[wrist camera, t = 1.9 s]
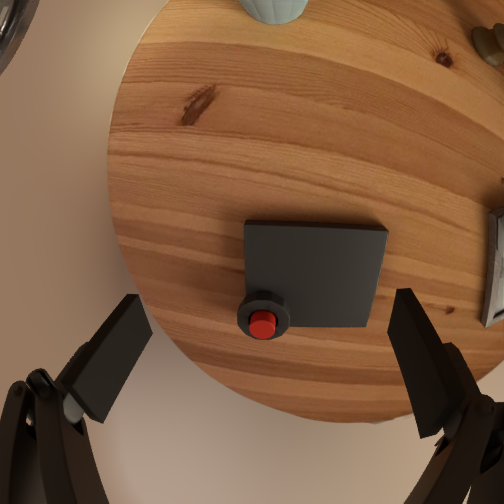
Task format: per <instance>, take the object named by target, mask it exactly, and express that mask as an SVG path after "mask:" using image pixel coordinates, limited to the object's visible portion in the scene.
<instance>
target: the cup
mask: <svg viewBox="0 0 504 504" xmlns="http://www.w3.org/2000/svg"><path fill="white" fill-rule="evenodd" d="M239 2H240V3H241V4H242V6H243V7H244V8H245V10H246V11H247V12H248V13H249V14H250V15H251V16H252V17H253V18H254V19H256V20H257V21H260V22H263V23H266V24H285V23H288V22H291V21H293V20H295V19H296V18H297V17H298V16H300V15H301V14H302V12H303V10H304V8H305V6H306V4H307V2H308V0H239Z"/></svg>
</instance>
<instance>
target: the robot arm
mask: <svg viewBox="0 0 504 504" xmlns="http://www.w3.org/2000/svg"><path fill="white" fill-rule="evenodd" d="M16 4H17V0H0V42H1V40H2V38H3V36H4V34H5V32H6V30H7V28H8V26H9V24H10V21H11V19H12V16H13V14H14V11H15V8H16ZM387 333H388V336H389V339H390V341H391V344H392V347H393V349H394V352H395V355H396V358H397V361H398V364H399V367H400V370H401V373H402V376H403V379H404V382H405V385H406V388H407V392H408V395H409V398H410V402H411V405H412V409H413V412H414V416H415V420H416V423H417V427H418V431H419V435H420V439H422V438H425V437H429V436H432V435H436V434H437V433H438V432H439V431H440V430H441V428H442V427H443V430H444V433H445V434H444V435H443V436H442V437H441V438H440V439H439V440H438V441H437V443H436V444H435V446H437V445H438V446H437V448H436V450H435V452H434V454H433V456H432V458H431V460H430V462H429V464H428V465H427V467H426V469H425V471H424V472H423V474H422V476H421V478H420V479H419V481H418V482H417V484H416V486H415V487H414V489H413V491H412V492H411V493H410V495H409V496H408V498H407V499H406V501H405V502H404V504H462V503H463V501H464V499H465V497H466V495H467V493H468V491H469V489H470V487H471V489H470V493H469V497H468V500H467V504H504V402H494V400H493V399H492V398H491V397H489V396H488V395H484V394H481V392H480V390H479V388H478V386H477V384H476V382H475V379H474V377H473V375H472V373H471V371H470V369H469V367H467V363H466V362H465V360H464V358H463V356H462V354H461V352H460V350H459V349H458V348H457V347H456V346H455V345H454V344H452V343H451V342H449V343H444V344H443V343H442V342H441V340H440V338H439V336H438V334H437V332H436V330H435V329H434V327H433V325H432V323H431V322H430V320H429V318H428V316H427V315H426V313H425V311H424V309H423V308H422V306H421V304H420V303H419V301H418V299H417V298H416V296H415V295H414V293H413V291H412V290H411V288H404V289H397V291H396V296H395V300H394V305H393V310H392V314H391V318H390V323H389V327H388V331H387ZM152 334H153V332H152V330H151V328H150V325H149V322H148V319H147V317H146V314H145V311H144V309H143V306H142V303H141V300H140V297H139V294H127V295H126V296H125V297H124V298H123V300H122V301H121V302H120V303H119V304H118V306H117V307H116V308H115V309H114V311H113V312H112V313H111V314H110V315H109V317H108V318H107V319H106V320H105V322H104V323H103V324H102V325H101V327H100V328H99V329H98V331H97V332H96V333H95V334H94V336H93V337H92V338H91V340H90V341H89V342H86V343H85V344H83V345H82V346H81V347H79V349H78V350H77V351H76V352H75V354H74V356H72V358H71V359H70V362H68V363H67V364H66V366H65V367H64V369H63V370H62V371H61V373H60V374H59V375H58V377H57V378H56V380H55V381H53V380H52V378H51V377H50V376H49V374H48V373H47V371H46V370H45V369H42V368H40V369H36V370H34V371H32V372H31V373H30V374H29V375H28V377H27V379H26V383H25V382H24V381H17V382H15V383H13V384H12V386H11V387H10V389H9V391H8V394H7V398H6V401H5V404H4V408H3V412H2V415H1V419H0V504H109V501H108V499H107V496H106V494H105V491H104V488H103V485H102V482H101V479H100V476H99V473H98V470H97V467H96V463H95V460H94V457H93V453H92V449H91V445H90V441H89V437H88V432H87V427H86V423H85V420H84V418H83V417H82V416H83V414H84V412H85V413H86V414H87V415H88V416H89V418H90V419H92V420H95V421H97V422H100V423H104V421H105V419H106V417H107V415H108V413H109V411H110V409H111V407H112V405H113V404H114V402H115V400H116V398H117V396H118V394H119V392H120V391H121V389H122V387H123V385H124V383H125V381H126V380H127V377H128V376H129V374H130V372H131V371H132V369H133V367H134V365H135V364H136V362H137V360H138V358H139V356H140V355H141V353H142V351H143V350H144V348H145V346H146V344H147V343H148V341H149V339H150V337H151V336H152ZM26 384H27V385H28V386H29V387H30V388H29V387H28V386H27V385H26ZM26 418H28V419H29V420H30V421H31V425H28V424H27V423H26Z"/></svg>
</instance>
